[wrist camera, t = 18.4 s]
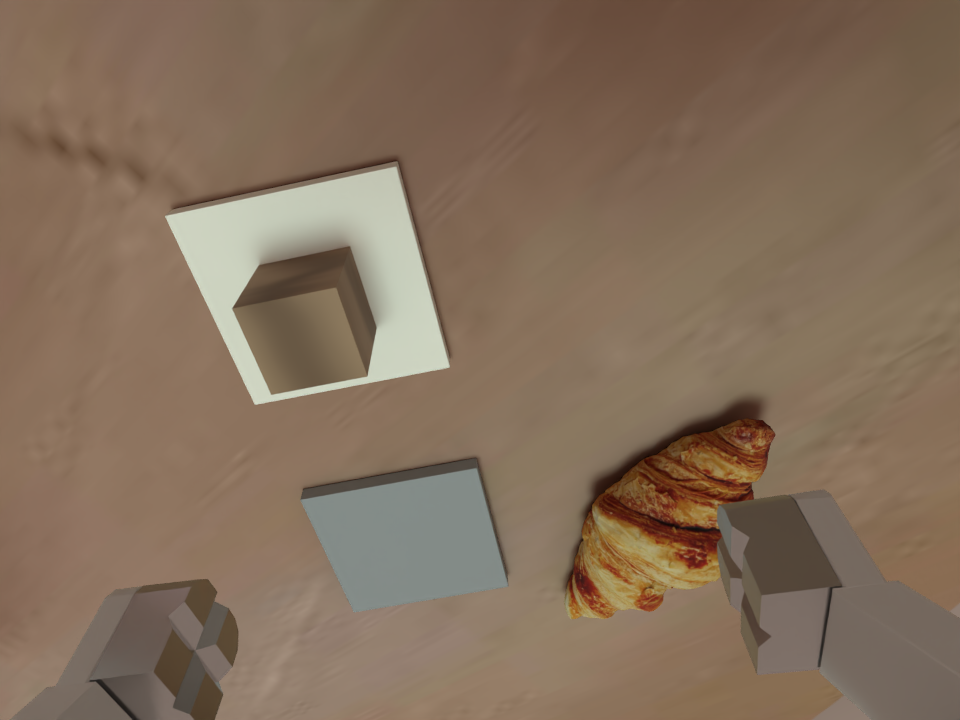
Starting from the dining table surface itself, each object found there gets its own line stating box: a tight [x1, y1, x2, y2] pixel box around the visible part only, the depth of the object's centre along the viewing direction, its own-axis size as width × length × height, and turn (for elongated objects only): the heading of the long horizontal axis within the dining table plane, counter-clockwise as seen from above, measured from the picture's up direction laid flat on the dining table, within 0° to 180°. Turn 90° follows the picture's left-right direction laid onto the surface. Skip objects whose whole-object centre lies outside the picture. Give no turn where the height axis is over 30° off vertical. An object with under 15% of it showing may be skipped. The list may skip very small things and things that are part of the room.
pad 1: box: [165, 161, 450, 405], centre depth 36 cm, size 12×12×1 cm
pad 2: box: [300, 458, 508, 612], centre depth 46 cm, size 12×12×1 cm
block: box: [232, 246, 377, 395], centre depth 33 cm, size 5×5×5 cm
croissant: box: [564, 418, 775, 619], centre depth 44 cm, size 21×10×8 cm, turn 151°
